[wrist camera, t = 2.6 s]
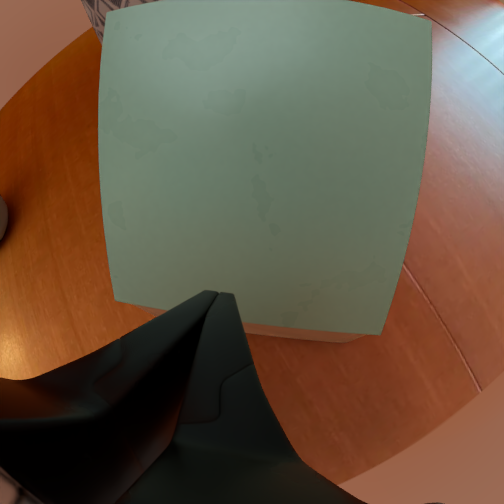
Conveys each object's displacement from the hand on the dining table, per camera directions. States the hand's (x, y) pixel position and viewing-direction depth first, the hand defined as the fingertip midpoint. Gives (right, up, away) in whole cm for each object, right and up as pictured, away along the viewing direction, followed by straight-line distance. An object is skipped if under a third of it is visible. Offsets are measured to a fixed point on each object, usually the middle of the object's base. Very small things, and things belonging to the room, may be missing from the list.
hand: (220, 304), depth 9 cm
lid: (+1, +5, +3) cm, 6 cm away
